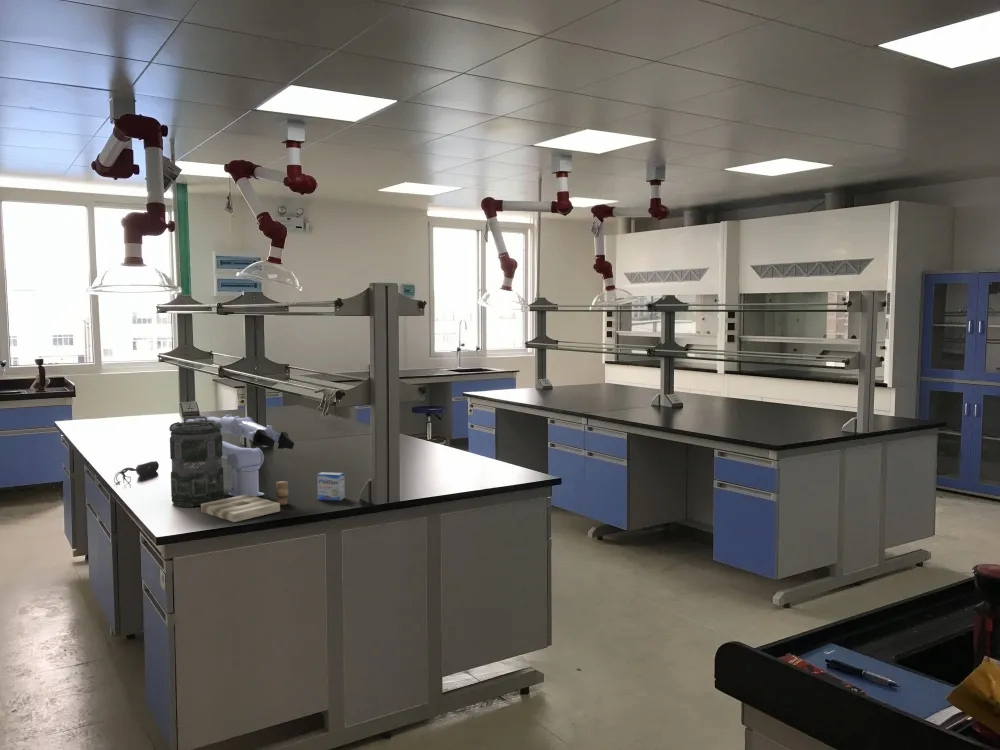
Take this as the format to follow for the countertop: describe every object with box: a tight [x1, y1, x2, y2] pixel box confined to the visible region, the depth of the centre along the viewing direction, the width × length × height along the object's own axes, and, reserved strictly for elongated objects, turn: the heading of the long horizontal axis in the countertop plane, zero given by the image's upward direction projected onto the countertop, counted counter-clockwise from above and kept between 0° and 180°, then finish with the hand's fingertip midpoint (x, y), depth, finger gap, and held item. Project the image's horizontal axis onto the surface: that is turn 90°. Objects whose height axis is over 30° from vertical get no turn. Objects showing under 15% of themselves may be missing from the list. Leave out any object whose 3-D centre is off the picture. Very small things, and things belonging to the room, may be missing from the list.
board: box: [200, 494, 281, 523], centre depth 240 cm, size 18×16×2 cm
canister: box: [169, 415, 225, 508], centre depth 251 cm, size 16×16×28 cm
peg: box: [276, 480, 289, 506], centre depth 250 cm, size 4×4×7 cm
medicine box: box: [317, 471, 346, 502], centre depth 256 cm, size 8×4×9 cm, turn 81°
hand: (283, 444), depth 246 cm, fingers open, 7 cm apart
